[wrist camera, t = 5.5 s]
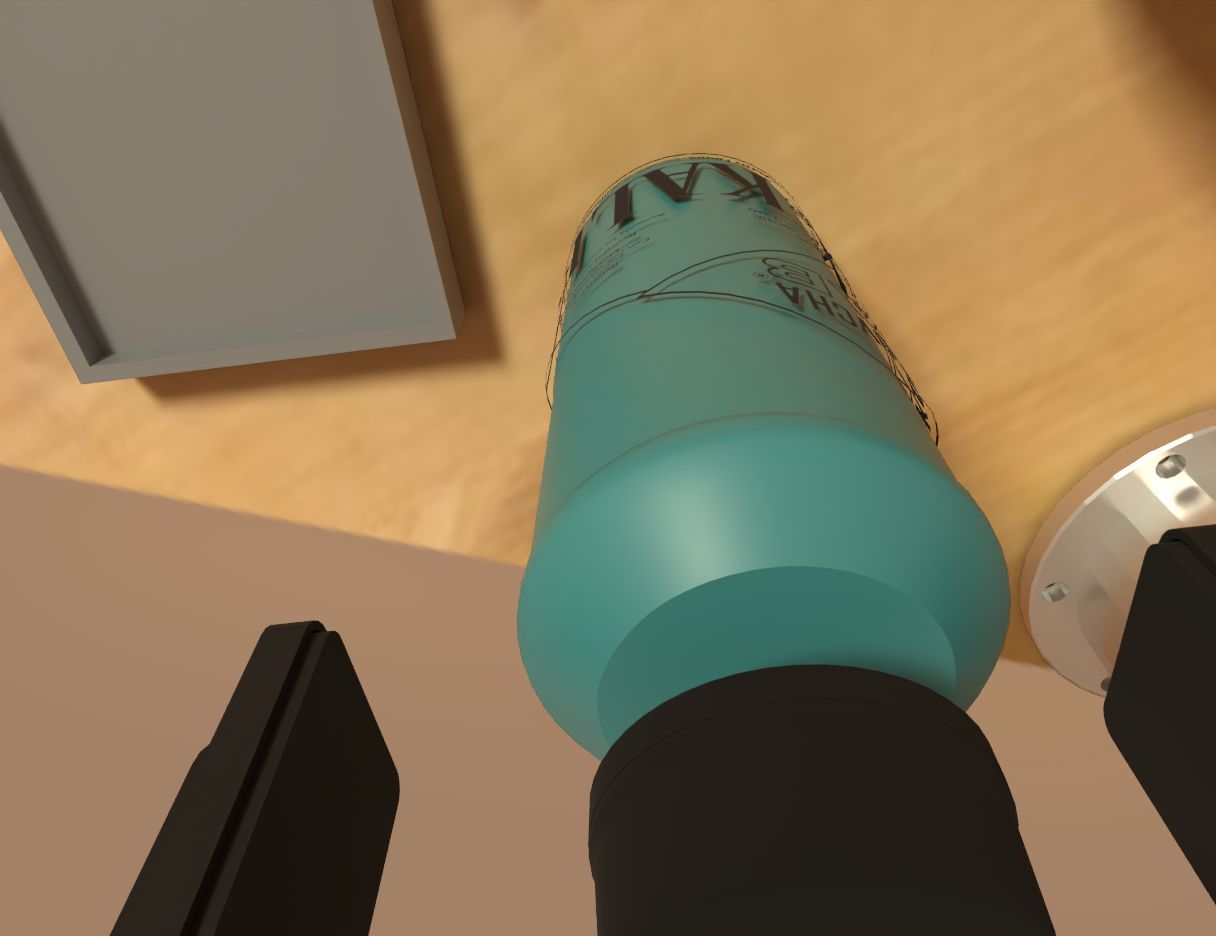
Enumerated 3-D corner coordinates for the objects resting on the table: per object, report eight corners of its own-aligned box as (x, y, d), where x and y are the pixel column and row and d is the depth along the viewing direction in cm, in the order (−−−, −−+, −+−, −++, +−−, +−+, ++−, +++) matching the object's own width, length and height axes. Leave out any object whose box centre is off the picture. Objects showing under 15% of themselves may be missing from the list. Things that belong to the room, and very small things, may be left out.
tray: (357, -143, 19) (334, -150, 17) (466, 313, 25) (456, 338, 23) (-95, -67, 20) (-154, -66, 18) (113, 357, 26) (81, 384, 24)
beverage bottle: (733, 389, 26) (945, 1230, 9) (532, 308, 25) (348, 1119, 8) (847, 192, 23) (1492, 930, 6) (622, 86, 21) (642, 654, 5)
